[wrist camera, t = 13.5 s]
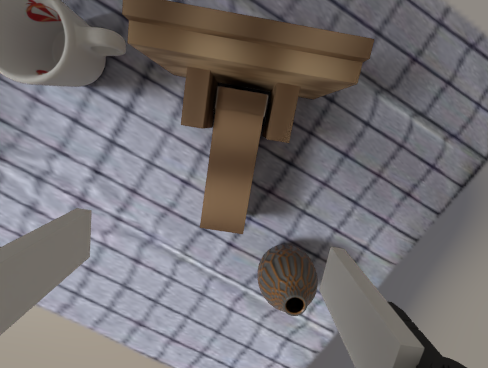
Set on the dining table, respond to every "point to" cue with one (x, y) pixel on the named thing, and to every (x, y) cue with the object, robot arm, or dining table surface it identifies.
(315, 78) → the headboard
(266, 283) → the vase
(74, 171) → the dining table surface
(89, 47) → the cup
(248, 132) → the brown wooden block
